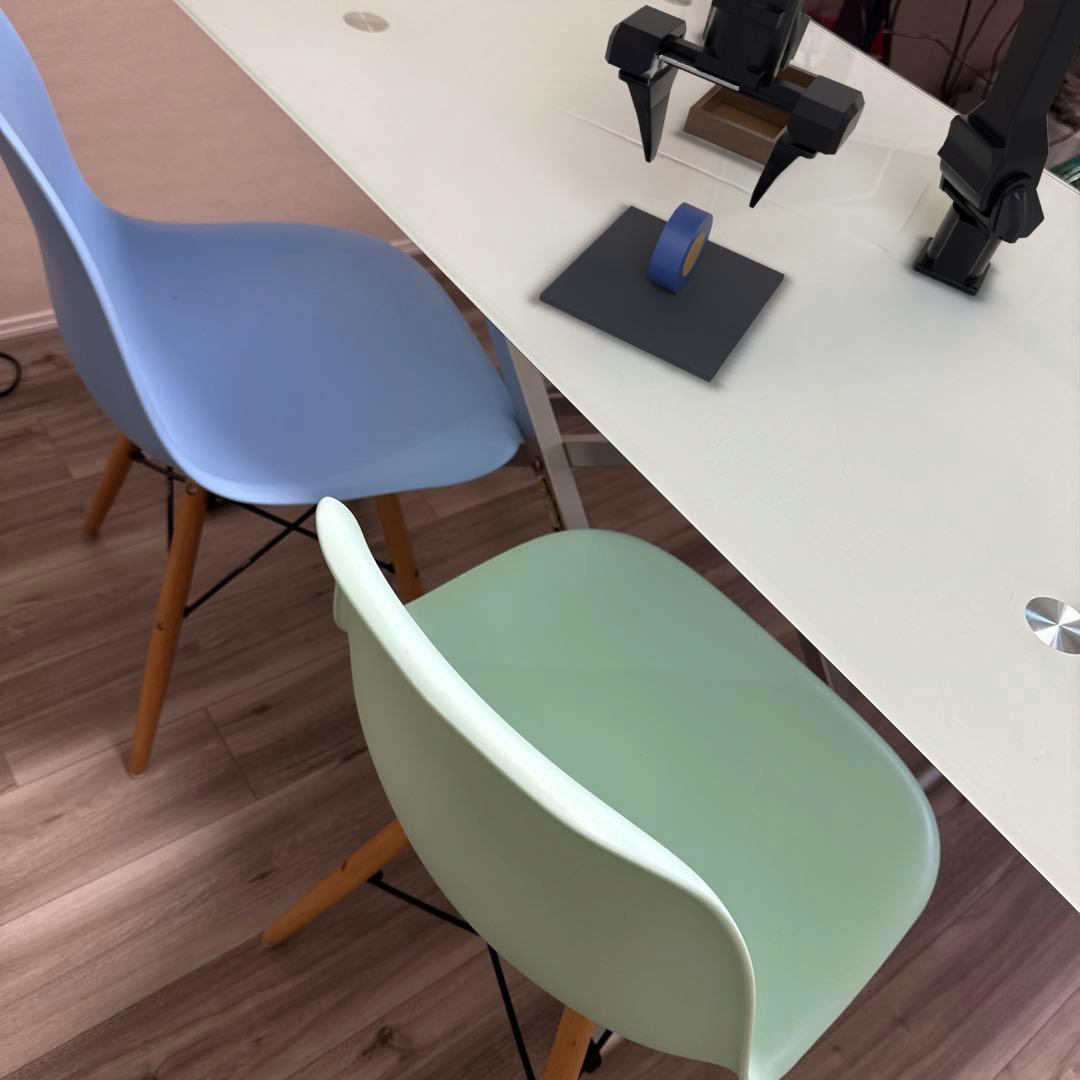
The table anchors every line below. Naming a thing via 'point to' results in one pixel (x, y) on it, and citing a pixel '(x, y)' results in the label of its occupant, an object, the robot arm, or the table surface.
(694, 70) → the robot arm
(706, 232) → the tape
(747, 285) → the mat
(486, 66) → the table surface
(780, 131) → the tray
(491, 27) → the table surface
